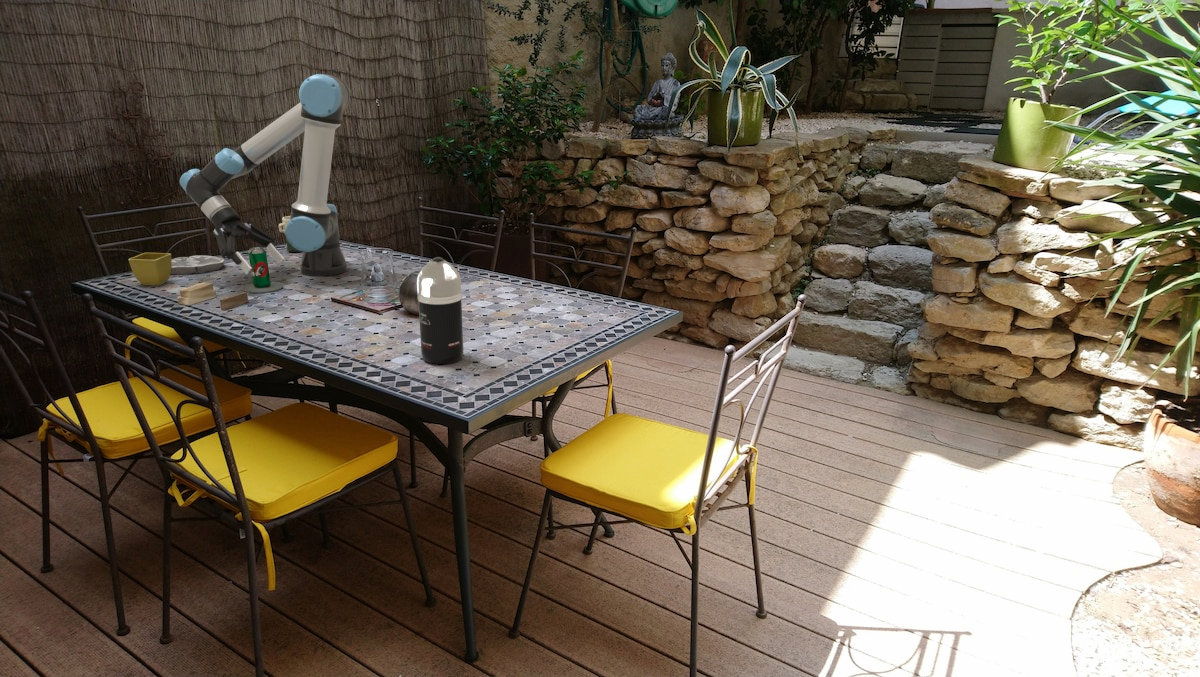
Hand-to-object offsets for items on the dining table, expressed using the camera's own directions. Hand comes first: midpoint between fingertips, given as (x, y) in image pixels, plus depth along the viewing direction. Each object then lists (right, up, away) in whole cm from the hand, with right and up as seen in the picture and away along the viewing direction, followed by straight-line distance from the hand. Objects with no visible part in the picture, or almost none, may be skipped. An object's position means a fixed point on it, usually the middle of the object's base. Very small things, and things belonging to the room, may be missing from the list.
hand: (265, 266), depth 228 cm
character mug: (-12, +11, +51) cm, 54 cm away
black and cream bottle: (+66, -27, -50) cm, 87 cm away
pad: (-2, -6, +3) cm, 8 cm away
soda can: (-2, -6, +3) cm, 7 cm away
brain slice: (-36, +1, +23) cm, 43 cm away
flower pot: (-37, -5, +5) cm, 38 cm away
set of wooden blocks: (-10, -12, -12) cm, 20 cm away
